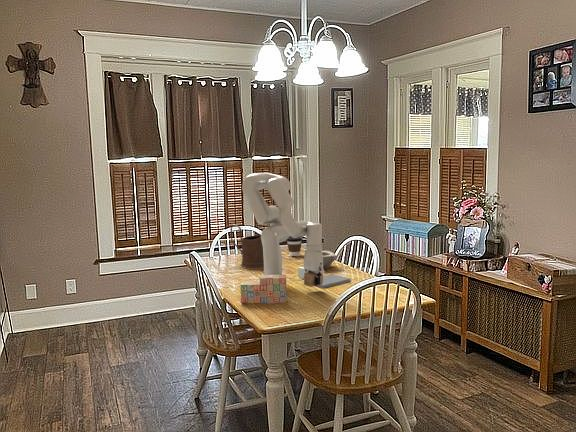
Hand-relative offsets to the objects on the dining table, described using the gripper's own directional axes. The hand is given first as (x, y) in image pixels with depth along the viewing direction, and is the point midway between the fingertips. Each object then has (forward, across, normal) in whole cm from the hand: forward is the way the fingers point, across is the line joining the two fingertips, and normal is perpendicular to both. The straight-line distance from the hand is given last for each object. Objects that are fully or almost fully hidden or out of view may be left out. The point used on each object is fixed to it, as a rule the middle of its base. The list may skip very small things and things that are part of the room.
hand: (313, 283), depth 261 cm
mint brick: (+5, -24, +16) cm, 29 cm away
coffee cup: (+7, -74, +49) cm, 89 cm away
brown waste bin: (+7, -72, +12) cm, 73 cm away
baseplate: (+4, -8, +17) cm, 20 cm away
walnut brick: (+1, 0, 0) cm, 1 cm away
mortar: (+5, -35, +37) cm, 51 cm away
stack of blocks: (+5, -3, -28) cm, 29 cm away
